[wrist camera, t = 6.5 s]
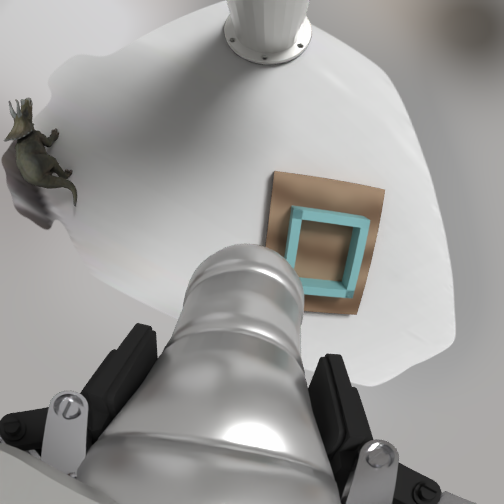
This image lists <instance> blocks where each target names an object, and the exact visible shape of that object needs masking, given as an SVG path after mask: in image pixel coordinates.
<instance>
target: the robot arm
mask: <svg viewBox="0 0 504 504" xmlns="http://www.w3.org/2000/svg"><path fill="white" fill-rule="evenodd" d="M309 1H310V0H227V4H228V7H229V11H230V15H229V16H228V18H227V20H226V23H225V26H224V33H225V38H226V41H227V43H228V45H229V46H230V48H231V49H232V50H233V51H234V52H235V53H236V54H237V55H239V56H240V57H242V58H244V59H246V60H248V61H251V62H255V63H259V64H279V63H284V62H287V61H290V60H292V59H294V58H296V57H298V56H299V55H300V54H302V53H303V52H304V51H305V49H306V48H307V47H308V45H309V43H310V40H311V37H312V28H311V24H310V22H309V19H308V18H307V17H306V13H307V9H308V5H309ZM233 41H235V42H233ZM298 47H301V48H298ZM264 58H266V60H263V59H264ZM156 342H157V341H156V332H155V331H153V330H152V327H151V326H148V325H144V324H139V323H137V324H136V325H135V326H134V327H133V329H132V330H131V331H130V333H129V334H128V335H127V337H126V338H125V339H124V341H123V342H122V343H121V345H120V346H119V348H118V349H117V350H115V349H114V350H112V351H111V352H110V353H109V354H108V355H107V357H106V358H105V359H104V361H103V362H102V363H101V365H100V366H99V368H98V369H97V371H96V372H95V373H94V374H93V376H92V377H91V379H90V380H89V381H88V383H87V384H86V386H85V387H84V388H83V390H82V392H81V393H80V394H79V393H77V392H74V391H63V392H59V393H58V394H56V395H55V396H54V397H53V398H52V400H51V402H50V405H49V407H47V408H42V409H36V410H30V411H24V412H17V413H10V414H7V415H5V416H4V417H3V418H2V419H1V420H0V504H119V503H118V502H116V501H115V500H113V499H112V498H110V497H109V496H107V495H106V494H105V493H104V492H102V491H100V490H98V489H95V488H93V487H91V486H89V485H87V484H85V483H82V482H80V481H78V480H77V469H78V467H79V466H80V464H81V463H82V461H83V460H84V458H85V457H86V455H87V452H88V451H89V449H90V448H91V446H92V445H93V444H94V443H95V442H96V441H98V438H99V437H100V435H101V434H102V433H103V432H104V430H105V429H106V428H107V427H108V425H109V424H110V423H111V422H112V420H113V419H114V418H115V417H116V415H117V414H118V413H119V412H120V411H121V409H122V408H123V407H124V406H125V404H126V403H127V402H128V401H129V399H130V398H131V397H132V396H133V394H134V393H135V392H136V391H137V389H138V388H139V387H140V386H141V384H142V383H143V382H144V380H145V378H146V377H147V375H148V373H149V372H150V370H151V369H152V367H153V365H154V364H155V362H156V361H157V359H158V358H157V343H156ZM308 392H309V396H310V401H311V406H312V411H313V414H314V417H315V420H316V423H317V426H318V429H319V432H320V435H321V438H322V441H323V444H324V447H325V450H326V453H327V456H328V459H329V462H330V466H331V469H332V472H333V475H334V479H335V480H334V481H335V482H336V483H337V487H338V491H339V496H340V501H341V504H476V503H474V502H471V501H468V500H466V499H463V498H461V497H458V496H456V495H453V494H451V493H449V492H447V491H445V492H443V493H442V492H441V489H440V486H439V485H438V484H437V483H436V482H435V481H433V480H432V479H429V478H428V477H426V476H424V475H422V474H420V473H418V472H416V471H414V470H412V469H410V468H408V467H406V466H404V465H402V464H401V463H399V454H398V452H397V449H396V448H395V447H394V446H393V445H392V444H391V443H389V442H387V441H384V440H373V437H372V434H371V431H370V427H369V424H368V421H367V417H366V414H365V411H364V408H363V405H362V402H361V399H360V396H359V393H358V390H357V388H355V387H352V386H351V383H350V380H349V377H348V374H347V371H346V368H345V365H344V362H343V359H342V356H341V355H339V354H326V355H325V357H321V358H320V359H319V362H318V365H317V367H316V370H315V373H314V375H313V378H312V380H311V383H310V385H309V388H308Z"/></svg>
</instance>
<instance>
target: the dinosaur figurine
mask: <svg viewBox="0 0 504 504" xmlns="http://www.w3.org/2000/svg"><path fill="white" fill-rule="evenodd" d="M15 101H16V102H17V114H16V113H15V112H14V110H13V108H12V105H11V102H10V101H9V106H10V113H11V115H12V117H13V118H14V126H13V128H12V130H11V132H10V133H9V134H8V136H7V137H6V139H5V140H4V141H8V140H17V139H18V140H17V144H16V145H15V149H16V163H17V167H18V169H19V170H20V171H21V174H22V176H23V178H24V179H25V180H26V181H27V182H28V183H30V184H32V185H34V186H35V185H36V186H39V187H44V188H60V187H64V188H68V189H69V190H71V191H72V193H73V198H74V206H76V202H77V190H76V188H75V186H74V184H73V183H72V182H71V181H69V180H66V179H67V178H68V177H69V176H70V175H71V174H72V170H70V171H68V170H67V169H65V172H64V171H63V170H62V168H61V167H60V165H59V163H58V162H57V160H56V159H55V158H54V157H52V156H50V155H48V154H47V152H46V149H45V147H44V146H46V147H50V146H51V144H52V142H53V141H55V140H56V139H57V138H58V135H59V133H57V129H55V130H52V134H51V135H50V137H48V138H47V137H46V136H45V135H44V134H41V132H40V131H36V130H34V127H33V126H34V124H33V123H32V101H31V98H26V99H25V100H23V99H21V111H20V106H19V102H18V101H17V100H15ZM53 172H54V173H56V174H57V175H58V176H59V177H56V176H53V175H52V173H53Z"/></svg>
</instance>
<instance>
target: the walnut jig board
mask: <svg viewBox="0 0 504 504" xmlns="http://www.w3.org/2000/svg"><path fill="white" fill-rule="evenodd" d="M384 194H385V190H384V189H380V188H375V187H370V186H365V185H360V184H355V183H349V182H344V181H338V180H333V179H327V178H320V177H314V176H307V175H300V174H293V173H286V172H278V171H274V178H273V187H272V195H271V204H270V212H269V221H268V229H267V237H266V245H265V247H267V248H269V249H271V250H273V251H275V252H277V253H278V254H280V255H281V256H282V257H284V258H285V259H286V260H287V262H288V263H289V264H290V265H291V266H292V268H293V269H294V270H295V271H296V273H297V275H298V277H299V278H300V280H301V283H302V286H303V290H304V311H312V312H324V313H338V314H354V315H357V312H358V308H359V305H360V302H361V298H362V295H363V291H364V287H365V284H366V280H367V276H368V272H369V268H370V264H371V260H372V256H373V251H374V247H375V242H376V237H377V233H378V228H379V223H380V217H381V212H382V206H383V200H384Z"/></svg>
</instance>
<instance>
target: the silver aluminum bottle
mask: <svg viewBox="0 0 504 504" xmlns="http://www.w3.org/2000/svg"><path fill="white" fill-rule="evenodd" d="M303 315H304V290H303V286H302V283H301V280H300V278H299V277H298V275H297V273H296V271H295V270H294V269H293V268H292V266H291V265H290V264H289V263H288V262H287V260H286V259H285V258H284V257H282V256H281V255H280V254H278V253H277V252H275V251H273V250H271V249H269V248H267V247H264V246H260V245H256V244H237V245H232V246H229V247H225V248H223V249H222V250H220V251H218V252H216V253H214V254H213V255H211V256H210V257H208V258H207V259H206V260H205V261H203V262H202V263H201V264H200V265H199V266H198V268H197V269H196V270H195V271H194V273H193V275H192V277H191V279H190V281H189V284H188V287H187V290H186V293H185V298H184V303H183V309H182V311H181V314H180V317H179V319H178V322H177V324H176V327H175V329H174V332H173V335H172V337H171V339H170V340H169V342H168V343H167V345H166V346H165V348H164V350H163V352H162V354H161V355H160V356H159V358H158V359H157V361H156V362H155V364H154V365H153V367H152V369H151V370H150V372H149V373H148V375H147V377H146V378H145V380H144V382H143V383H142V384H141V386H140V387H139V388H138V389H137V391H136V392H135V393H134V394H133V396H132V397H131V398H130V399H129V401H128V402H127V403H126V404H125V406H124V407H123V408H122V409H121V411H120V412H119V413H118V414H117V415H116V417H115V418H114V419H113V420H112V422H111V423H110V424H109V425H108V427H107V428H106V429H105V430H104V432H103V433H102V434H101V435H100V437H99V438H98V441H96V442H95V443H94V444H93V445H92V446H91V448H90V449H89V451H88V452H87V455H86V457H85V458H84V460H83V461H82V463H81V464H80V466H79V467H78V469H77V480H78V481H80V482H82V483H85V484H87V485H89V486H91V487H93V488H95V489H98V490H100V491H102V492H104V493H105V494H106V495H107V496H109V497H110V498H112V499H113V500H115V501H116V502H118V503H119V504H341V501H340V496H339V491H338V487H337V483H336V482H335V481H334V480H335V479H334V475H333V472H332V469H331V466H330V462H329V459H328V456H327V453H326V450H325V447H324V444H323V441H322V438H321V435H320V432H319V429H318V426H317V423H316V420H315V417H314V414H313V411H312V406H311V401H310V396H309V392H308V387H307V382H306V379H305V372H304V368H303V363H302V359H301V324H302V319H303Z"/></svg>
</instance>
